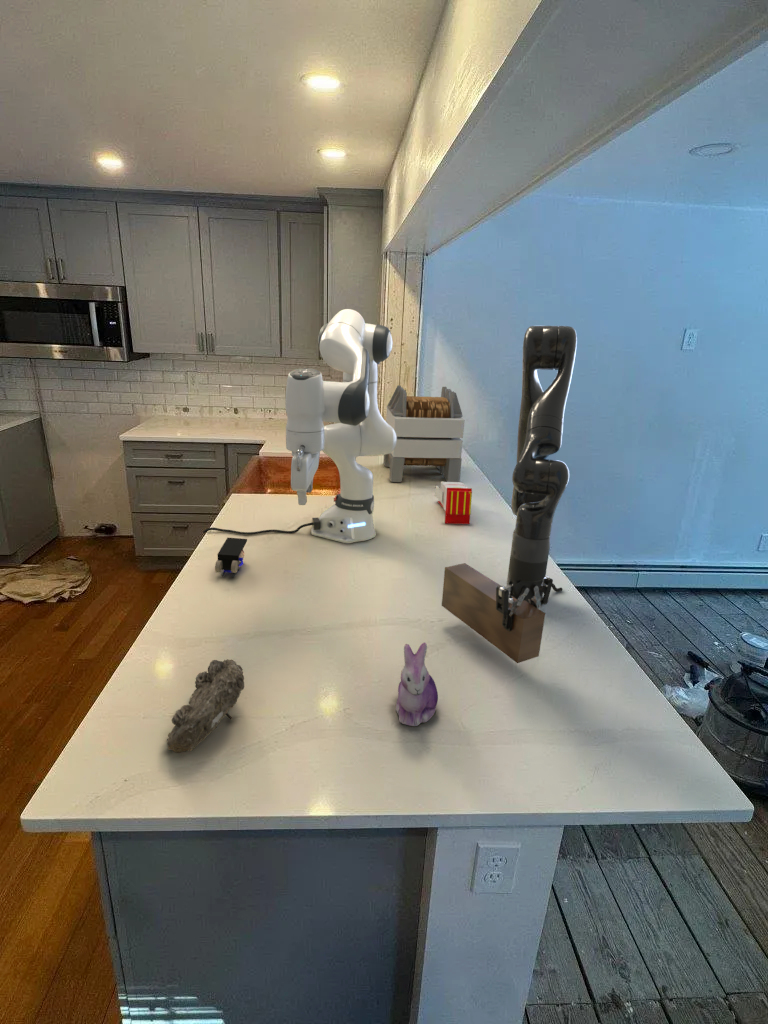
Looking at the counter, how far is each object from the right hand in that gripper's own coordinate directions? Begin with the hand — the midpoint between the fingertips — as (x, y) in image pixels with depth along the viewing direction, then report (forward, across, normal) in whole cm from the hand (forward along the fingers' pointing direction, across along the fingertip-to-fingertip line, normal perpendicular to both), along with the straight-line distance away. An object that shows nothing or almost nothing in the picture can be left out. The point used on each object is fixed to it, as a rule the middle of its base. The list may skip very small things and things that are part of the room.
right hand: (519, 625), depth 122 cm
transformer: (+10, +69, +144) cm, 160 cm away
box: (+6, 0, +10) cm, 12 cm away
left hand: (-19, -31, +44) cm, 57 cm away
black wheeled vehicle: (+12, -41, +76) cm, 87 cm away
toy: (+11, +50, +92) cm, 105 cm away
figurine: (+12, -26, -1) cm, 29 cm away
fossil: (+12, -62, +15) cm, 65 cm away
